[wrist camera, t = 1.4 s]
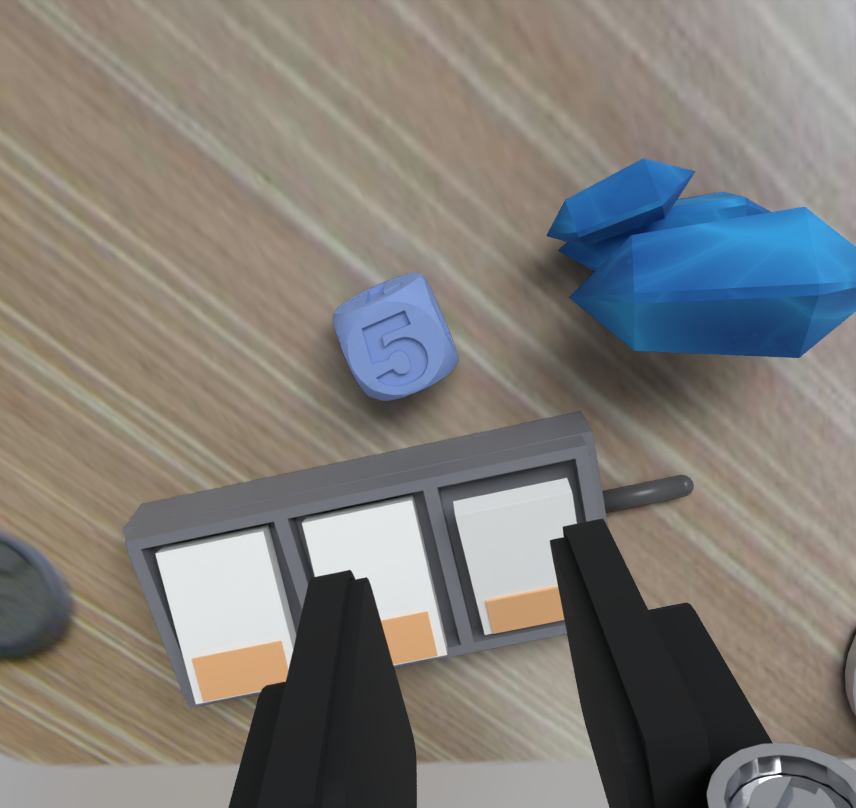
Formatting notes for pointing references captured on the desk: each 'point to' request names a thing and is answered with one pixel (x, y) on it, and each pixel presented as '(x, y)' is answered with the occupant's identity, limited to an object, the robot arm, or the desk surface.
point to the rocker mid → (384, 570)
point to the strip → (382, 480)
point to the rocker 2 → (515, 552)
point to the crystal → (704, 267)
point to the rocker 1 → (229, 612)
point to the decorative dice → (395, 338)
